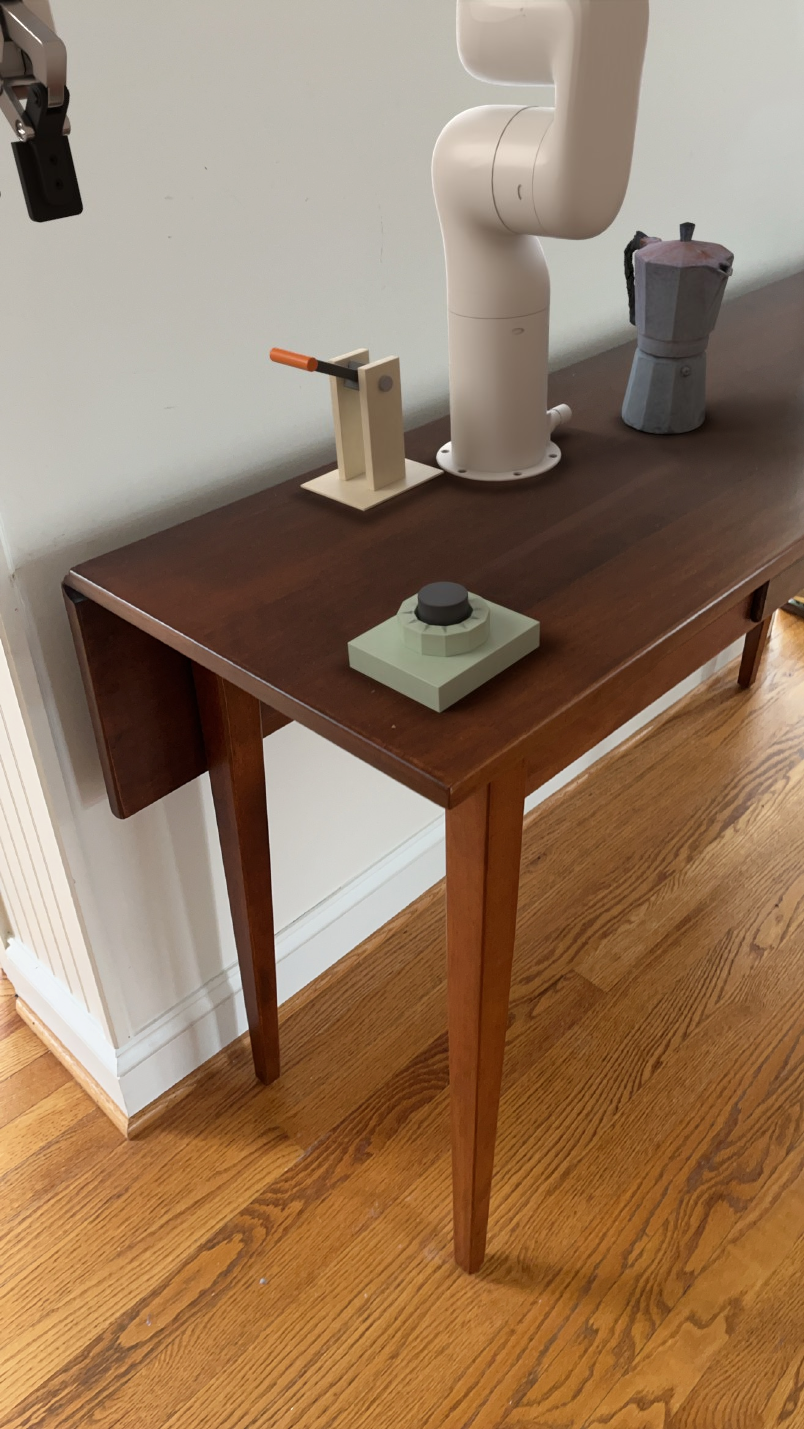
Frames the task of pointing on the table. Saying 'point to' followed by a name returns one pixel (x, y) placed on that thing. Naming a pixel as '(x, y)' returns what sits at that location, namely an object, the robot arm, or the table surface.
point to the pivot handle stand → (369, 437)
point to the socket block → (443, 651)
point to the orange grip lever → (318, 366)
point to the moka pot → (672, 327)
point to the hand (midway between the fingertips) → (15, 210)
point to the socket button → (443, 604)
